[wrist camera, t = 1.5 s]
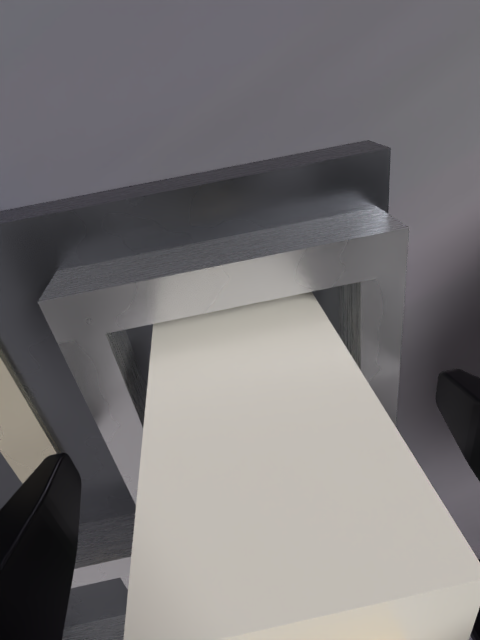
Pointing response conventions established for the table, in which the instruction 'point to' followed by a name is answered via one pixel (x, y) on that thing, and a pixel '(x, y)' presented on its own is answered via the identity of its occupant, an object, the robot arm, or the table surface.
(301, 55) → the table surface
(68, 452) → the panel
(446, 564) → the plug
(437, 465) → the table surface
